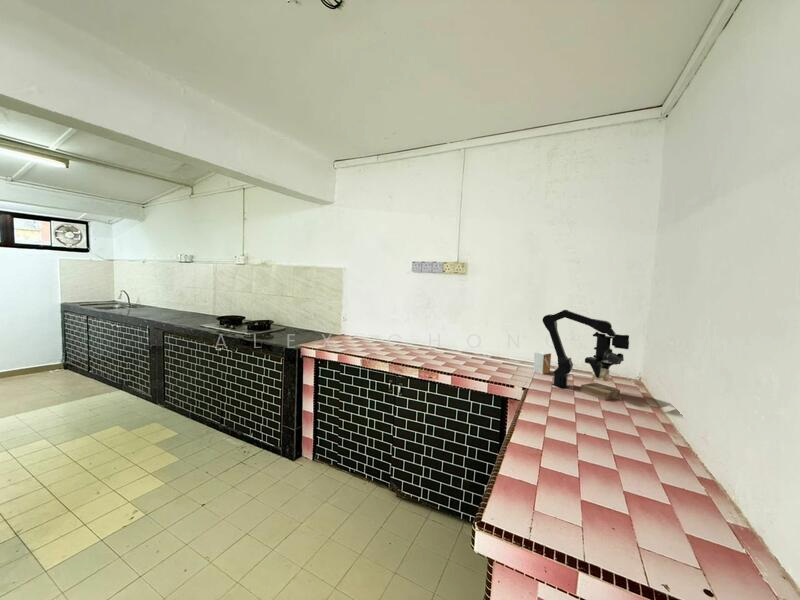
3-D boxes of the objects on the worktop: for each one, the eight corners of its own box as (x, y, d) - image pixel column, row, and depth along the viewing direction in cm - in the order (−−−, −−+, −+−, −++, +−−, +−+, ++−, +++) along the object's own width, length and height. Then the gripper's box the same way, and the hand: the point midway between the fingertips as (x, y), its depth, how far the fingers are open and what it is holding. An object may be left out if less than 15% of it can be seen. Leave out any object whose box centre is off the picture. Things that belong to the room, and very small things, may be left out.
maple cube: (602, 380, 149) (603, 370, 149) (592, 377, 154) (593, 368, 154) (608, 379, 152) (609, 370, 151) (598, 376, 156) (599, 367, 156)
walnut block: (604, 401, 145) (605, 393, 145) (580, 392, 156) (580, 385, 156) (619, 397, 150) (620, 390, 150) (594, 389, 161) (595, 382, 161)
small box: (542, 376, 181) (543, 354, 181) (532, 373, 187) (534, 352, 186) (550, 374, 186) (551, 353, 185) (540, 371, 191) (541, 351, 190)
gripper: (608, 350, 140) (606, 384, 141) (631, 348, 149) (629, 379, 149) (585, 345, 150) (582, 376, 151) (607, 343, 159) (605, 373, 160)
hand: (600, 376), depth 153 cm, fingers closed on maple cube, 5 cm apart
